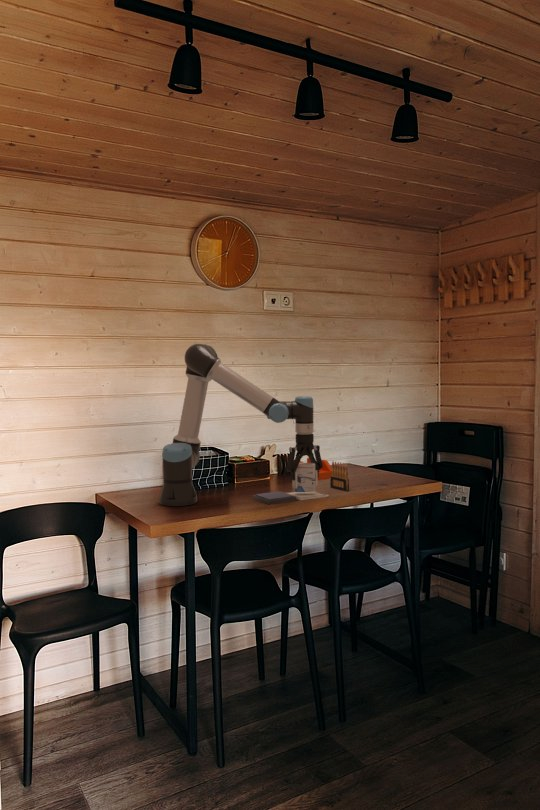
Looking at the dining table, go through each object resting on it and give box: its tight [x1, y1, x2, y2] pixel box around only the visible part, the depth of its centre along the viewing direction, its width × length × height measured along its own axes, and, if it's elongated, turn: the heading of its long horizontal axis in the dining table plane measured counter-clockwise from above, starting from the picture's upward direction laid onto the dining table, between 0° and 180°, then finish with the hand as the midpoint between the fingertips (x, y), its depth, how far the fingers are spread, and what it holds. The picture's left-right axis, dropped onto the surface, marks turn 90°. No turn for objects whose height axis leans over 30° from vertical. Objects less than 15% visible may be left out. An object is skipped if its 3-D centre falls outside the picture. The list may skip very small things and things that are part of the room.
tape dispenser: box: [299, 457, 332, 481], centre depth 310 cm, size 18×13×8 cm
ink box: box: [294, 462, 316, 492], centre depth 266 cm, size 9×5×12 cm, turn 84°
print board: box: [285, 490, 330, 501], centre depth 266 cm, size 14×14×1 cm
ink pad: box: [252, 490, 297, 505], centre depth 259 cm, size 13×13×2 cm
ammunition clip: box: [329, 461, 350, 492], centre depth 279 cm, size 11×2×12 cm, turn 34°
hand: (305, 486), depth 266 cm, fingers closed on ink box, 9 cm apart
